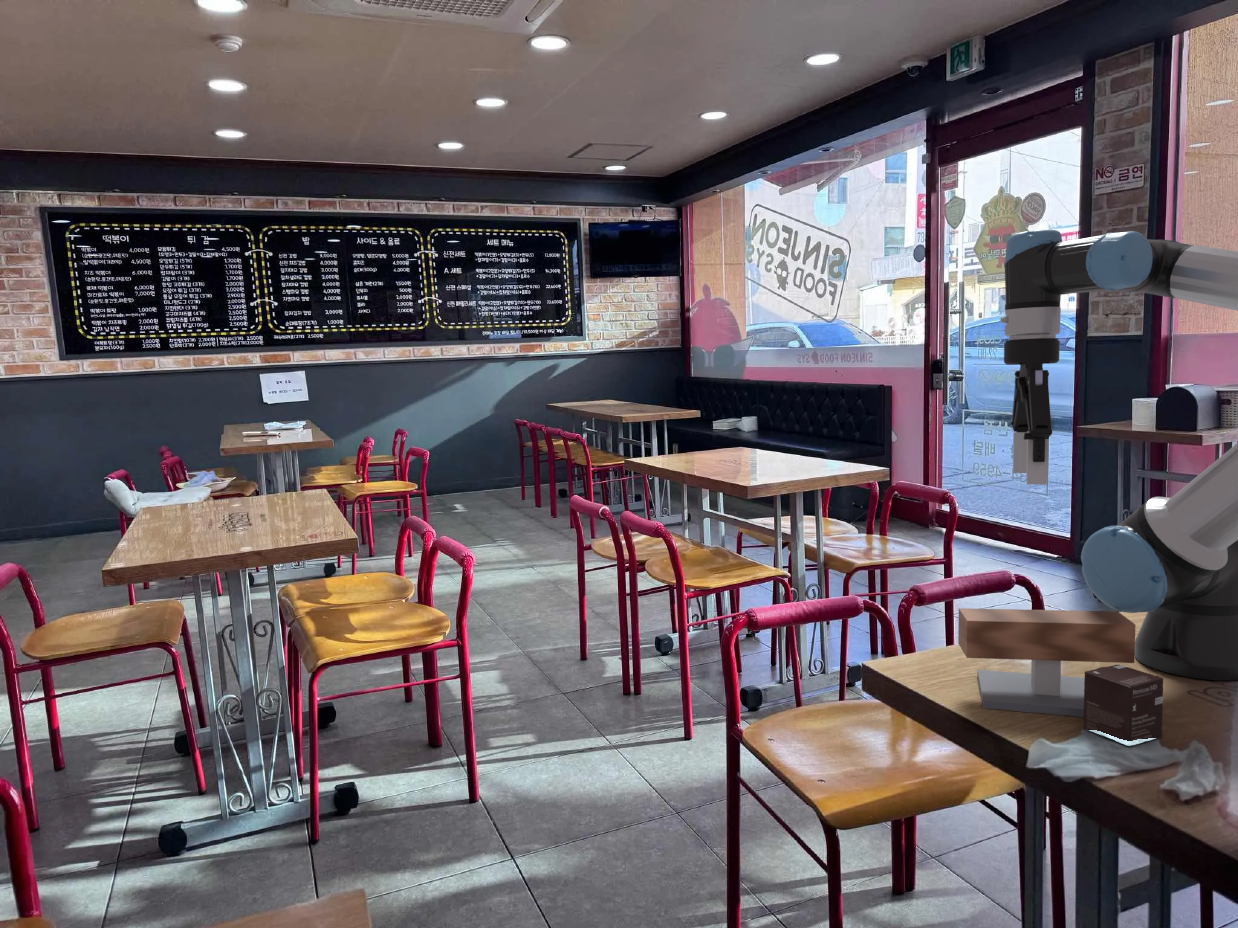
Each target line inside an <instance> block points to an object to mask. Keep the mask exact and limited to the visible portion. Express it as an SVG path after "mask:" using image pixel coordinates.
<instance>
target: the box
mask: <svg viewBox="0 0 1238 928" xmlns="http://www.w3.org/2000/svg"><path fill="white" fill-rule="evenodd" d="M1084 678H1085V679H1084V717H1082V719H1083V720H1082V721H1083V724H1082V725H1083V726H1082V728H1083V729H1084V730H1085V731H1087V730H1097V731H1101V732H1103V733H1106V734H1109V735H1111V736H1114V737H1117V738H1119V739H1123V740H1127V741H1133V740H1137V739H1148V738H1157V739H1161V738H1162V737H1163V716H1164V715H1163V707H1164V706H1163V705H1164V704H1163V702H1164V677H1161V676H1159V675H1155V674H1152V673H1148V672H1145V671H1142V670H1138V669H1135V668H1133V667H1129V666H1125V665H1123V664H1122V665H1121V664H1114V665H1110V666H1108V665H1107V666H1100V667H1097V668H1095V669H1094V668H1093V669H1091V670H1087V671H1086V670H1085V671H1084ZM1157 739H1156V740H1157Z"/></svg>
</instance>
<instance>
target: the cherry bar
mask: <svg viewBox="0 0 1238 928" xmlns="http://www.w3.org/2000/svg"><path fill="white" fill-rule="evenodd" d="M957 627H958V631H957V632H958V636H957V637H958V638H957V639H958V640H957V641H958V646H959V647H960V649H961V651H962V653H963V654H964V656H965V657H966V658H967V659H987V660H988V659H990V660H993V659H994V660H998V659H999V660H1018V661H1019V660H1021V661H1022V660H1024V661H1028V660H1029V661H1030V660H1050V661H1061V662H1062V661H1063V662H1084V663H1085V662H1086V663H1087V662H1088V663H1089V662H1090V663H1091V662H1092V663H1116V664H1117V663H1118V664H1119V663H1120V664H1135V659H1136V657H1135V641H1136V624H1135V622H1133V621H1132V620H1130V619H1128V618H1127V617H1126V616H1124V615H1123V614H1122V613H1121V612H1120V611H1118V610H1115V611H1114V610H1113V611H1109V610H1105V611H1104V610H1068V609H1067V610H1061V609H1060V610H1059V609H1058V610H1057V609H1054V610H1053V609H1018V608H1017V609H1013V608H1012V609H1011V608H1010V609H1009V608H1008V609H1007V608H1006V609H1005V608H965V607H962V608H961V607H959V608H958V626H957Z"/></svg>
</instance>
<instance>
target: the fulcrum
mask: <svg viewBox="0 0 1238 928" xmlns="http://www.w3.org/2000/svg"><path fill="white" fill-rule="evenodd" d="M1030 663H1031V669H1030V671H1031V672H1030V673H1027V672H1014V671H1013V672H1012V671H1003V670H989V669H987V670H986V669H977V674H976V677H977V682H978V687H979V693H980V699H981V703H982V708H983V709H990V710H1002V711H1003V710H1004V711H1012V712H1023V713H1025V712H1026V713H1035V714H1046V715H1055V716H1056V715H1058V716H1068V717H1069V716H1070V717H1078V718H1080V717H1081V718H1084V679H1085V677H1080V676H1069V675H1068V676H1067V675H1066V676H1065V675H1061V674H1062V670H1061V669H1062V661H1050V660H1031V662H1030Z"/></svg>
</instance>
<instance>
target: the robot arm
mask: <svg viewBox="0 0 1238 928" xmlns="http://www.w3.org/2000/svg"><path fill="white" fill-rule="evenodd" d="M1005 249H1006V250H1005V259H1004V263H1003V267H1004V287H1005V303H1004V304H1005V305H1004V315H1005V316H1004V315H1003V316H1001V317H1000V319H999V320H1000V321H999V322H1000V324H1001V323H1002V324H1005V325H1004V336H1005V337H1007V338H1008V340H1005V342H1004V343H1003V363H1004V364H1005V365H1007V366H1010V365H1011V366H1012V365H1015V366H1016V365H1017V366H1020V367H1019V369H1015V372H1014V376H1015V377H1014V393H1013V404H1012V405H1013V406H1012V414H1011V415H1012V416H1011V421H1010V425H1011V426H1012V430H1013V432H1012V433H1013V435H1012V437H1013V438H1012V440H1013V441H1012V473H1013V474H1026V475H1025V476H1026V481H1025V482H1026V485H1034V486H1035V485H1040V486H1041V485H1045V486H1046V485H1048V484H1049V483H1048V482H1049V481H1048V480H1049V441H1050V440H1049V438H1050V437H1051V436H1052V434H1053V429H1052V418H1051V407H1050V404H1051V403H1050V392H1049V391H1050V390H1049V376H1050V372H1049V370H1047V369H1044V367H1043V366H1044V365H1045V364H1047V365H1048V364H1050V365H1051V364H1058V362H1059V361H1060V345H1061V344H1060V340H1059V338H1056V335H1059V334H1060V333H1061V315H1062V314H1061V298H1062V295H1069V294H1079V293H1082V294H1083V293H1091V292H1092V293H1094V292H1095V293H1096V292H1109V293H1110V292H1111V293H1114V292H1115V293H1116V292H1117V293H1143V294H1150V295H1154V296H1155V295H1156V296H1160V297H1165V298H1171V299H1176V300H1177V299H1178V300H1183V301H1189V302H1193V303H1198V304H1203V305H1208V306H1212V307H1218V308H1222V309H1223V308H1224V309H1227V310H1233V311H1238V250H1231V249H1225V248H1217V247H1211V246H1202V245H1193V244H1189V243H1183V242H1179V241H1177V240H1171V239H1170V240H1169V239H1148V238H1145V237H1144V235H1143V234H1142V233H1140V232H1138V231H1134V230H1133V231H1123V232H1116V231H1112V232H1108V233H1106V234H1101V235H1096V236H1095V235H1094V236H1090V237H1085V238H1084V237H1083V238H1078V239H1072V240H1066V241H1065V240H1064V241H1063V238H1062V234H1061V232H1060V231H1058V230H1056V229H1036V230H1029V231H1020V232H1017V233H1014V234H1012V235H1011V236H1010V237H1008V239H1007V241H1006V247H1005ZM1080 560H1081V565H1082V567H1081V572H1082V575H1083V578H1084V581H1085V583H1086V585H1087V586H1088V589H1089V590H1090V591H1091V592H1092V593H1093V595H1094V596H1095V597H1096V598H1097V599H1098V600H1099V601H1100V602H1101V603H1102V604H1104V605H1106V606H1107V607H1109V608H1111V609H1112V610H1115V611H1118V612H1120V613H1121V612H1122V613H1126V614H1136V613H1137V614H1138V613H1146V615H1145V617H1144V619H1143V622H1142V623H1141V627H1140V628H1139V631H1138V633H1137V636H1136V637H1135V659H1136V660H1137V661H1138V662H1140V663H1142V664H1143V665H1145V666H1147V667H1148V668H1152V669H1155V670H1157V671H1161V672H1164V673H1167V674H1171V675H1177V676H1181V677H1187V678H1192V679H1200V680H1209V681H1238V442H1237V443H1236V444H1234V445H1233V446H1231V448H1230V449H1229V450H1227V451H1225V452H1224V453H1223V454H1222V455H1221V456H1220V457H1218V459H1216V460H1215V461H1213V463H1211V464H1210V465H1209V466H1207V468H1205V469H1204V470H1202V472H1200V473H1199V474H1198V475H1197V476H1195V478H1193V479H1192V480H1190V481H1189V482H1188V483H1187V484H1186V485H1184V486H1183V488H1181V489H1180V490H1178V491H1177V492H1176V493H1175V494H1174V495H1172V496H1171V497H1165V496H1154V497H1151V498H1150V499H1148V500H1147V501H1146V502H1144V503H1143V504H1142V505H1141V506H1140V507H1139V508H1138V509H1136V510H1135V511H1134V512H1132V513H1131V514H1130V515H1128V516H1127V518H1125V519H1124V520H1123V521H1121V522H1120V523H1119V524H1116V525H1109V526H1104V527H1103V528H1101V529H1099V530H1097V531H1095V532H1094V533H1093V534H1091V535H1090V536H1089V537H1088V539H1086V541H1085V543H1084V545H1083V547H1082V550H1081V554H1080Z"/></svg>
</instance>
